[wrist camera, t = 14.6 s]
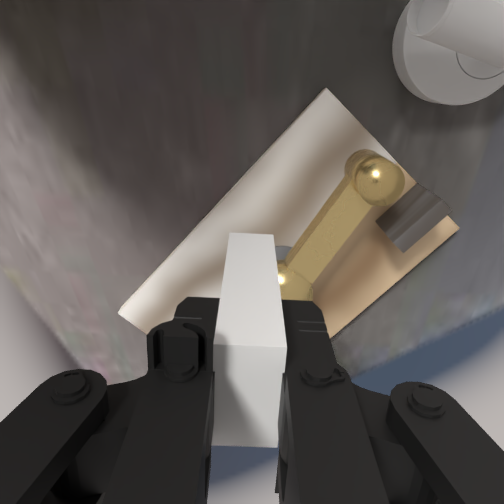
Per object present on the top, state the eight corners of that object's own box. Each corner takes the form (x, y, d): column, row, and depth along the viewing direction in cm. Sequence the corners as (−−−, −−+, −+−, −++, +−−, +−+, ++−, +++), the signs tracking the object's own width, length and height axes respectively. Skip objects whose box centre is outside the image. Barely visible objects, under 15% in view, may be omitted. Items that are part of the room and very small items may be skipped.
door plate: (121, 306, 40) (99, 344, 35) (324, 87, 33) (339, 90, 27) (247, 400, 44) (246, 448, 39) (453, 223, 37) (490, 250, 31)
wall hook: (460, -100, 21) (644, -42, 22) (399, -48, 30) (532, -8, 31) (396, 85, 24) (559, 129, 25) (358, 82, 33) (480, 115, 34)
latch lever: (289, 310, 38) (293, 343, 33) (246, 285, 37) (245, 316, 32) (399, 168, 33) (422, 183, 28) (353, 135, 32) (369, 146, 27)
